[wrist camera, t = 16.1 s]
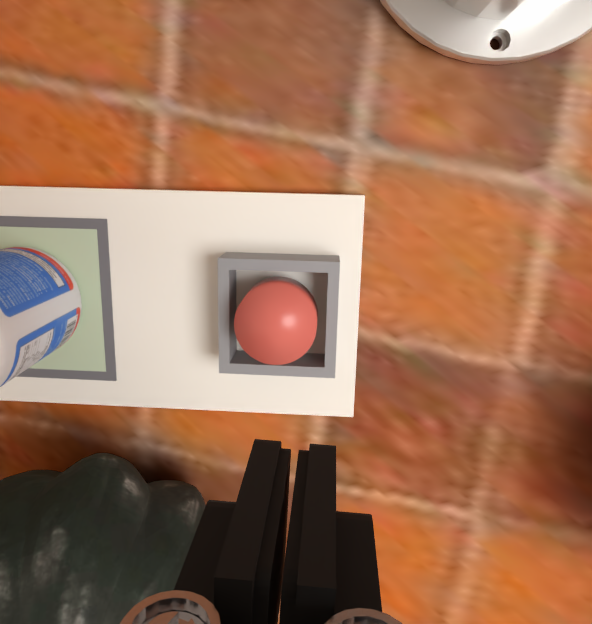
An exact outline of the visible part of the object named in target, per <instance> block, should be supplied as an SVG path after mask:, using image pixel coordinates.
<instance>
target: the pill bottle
mask: <svg viewBox="0 0 592 624" xmlns="http://www.w3.org/2000/svg"><path fill="white" fill-rule="evenodd" d="M81 310H82V303H81V295H80V291H79V288H78V285H77V283H76V281H75V279H74V277H73V276H72V274H71V272H70V271H69V270H68V269H67V268H66V267H65V266H64V265H63V264H62V263H61V262H60V261H59V260H58V259H56V258H55V257H53V256H52V255H50V254H48V253H46V252H44V251H41V250H38V249H35V248H30V247H11V248H5V249H1V250H0V387H1V386H3V385H4V384H6V383H7V382H9V381H10V380H12V379H13V378H15V377H16V376H18V375H19V374H20V373H22V372H23V371H25V370H26V369H28V368H29V367H31V366H32V365H34V364H35V363H37V362H38V361H40V360H41V359H43V358H44V357H46V356H47V355H49V354H51V353H52V352H54V351H55V350H56V349H58V348H59V347H61V346H62V345H63V344H64V343H65V342H66V341H67V340H68V339H69V338H70V337H71V336H72V334H73V333H74V331H75V330H76V328H77V326H78V323H79V320H80V316H81Z"/></svg>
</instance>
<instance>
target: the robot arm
mask: <svg viewBox="0 0 592 624" xmlns="http://www.w3.org/2000/svg"><path fill="white" fill-rule="evenodd" d="M380 2H381V4H382V5H383V6H384V7H385V9H386V10H387V11H388V12H389V14H390V15H391V16H392V17H393V19H394V20H395V21H396V22H397V24H398V25H399V26H400V27H401V28H403V29H404V30H405V31H406V32H408V33H409V34H410V35H411V36H412V37H414V38H415V39H416V40H417V41H418V42H420V43H421V44H423V45H425V46H427V47H429V48H431V49H433V50H435V51H436V52H438V53H440V54H442V55H444V56H447V57H451V58H454V59H458V60H462V61H465V62H469V63H477V64H493V65H502V64H509V63H516V62H524V61H529V60H532V59H534V58H537V57H540V56H543V55H546V54H549V53H552V52H555V51H557V50H559V49H560V48H562V47H564V46H566V45H568V44H570V43H572V42H574V41H576V40H578V39H579V38H581V37H582V36H584V35H585V34H587V33H588V32H590V31H591V30H592V0H380ZM491 39H496V40H498V41H499V45H500V46H499V49H498V50H493V49H492V48H491V47H490V41H491ZM290 458H291V449H282V448H281V441H271V440H259V439H255V441H254V444H253V447H252V450H251V454H250V457H249V461H248V464H247V467H246V471H245V474H244V478H243V481H242V484H241V488H240V491H239V495H238V498H237V501H236V502H226V501H215V500H209V501H208V502H207V504H206V506H205V509H204V511H203V514H202V517H201V519H200V522H199V525H198V527H197V530H196V532H195V535H194V538H193V540H192V543H191V546H190V548H189V551H188V554H187V556H186V559H185V561H184V564H183V567H182V569H181V572H180V575H179V577H178V580H177V582H176V585H175V588H174V590H173V591H166V592H160V593H157V594H155V595H152V596H149V597H147V598H145V599H144V600H142V601H141V602H139V603H138V604H136V605H135V606H133V608H132V609H131V610H130V611H129V612H128V613H127V614H126V615H125V617H124V618H123V619H122V621H121V622H120V624H277V622H278V614H279V607H280V623H279V624H402V623H401V622H399V621H398V620H396V619H395V618H393V617H391V616H390V615H388V614H385V613H382V607H381V597H380V587H379V578H378V568H377V558H376V549H375V539H374V529H373V520H372V515H371V514H362V513H350V512H339V511H336V446H331V445H319V444H310V448H309V451H306V450H299V454H298V461H297V469H296V477H295V485H294V492H293V500H292V508H291V516H290V524H289V531H288V539H287V547H286V555H285V546H286V528H287V511H288V493H289V476H290ZM280 599H281V605H280Z"/></svg>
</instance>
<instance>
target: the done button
mask: <svg viewBox="0 0 592 624" xmlns="http://www.w3.org/2000/svg"><path fill="white" fill-rule="evenodd" d="M317 320H318V310H317V305H316V302H315V299H314V297H313V295H312V294H311V292H310V291H309V290H308V289H307V288H306V287H305V286H304V285H303V284H301V283H300V282H298V281H296V280H294V279H291V278H288V277H281V276H277V277H269V278H266V279H264V280H261V281H260V282H258V283H256V284H255V285H254V286H253V287H252V288H251V289H250V290H249V291H248V293H247V294H246V295H245V297H244V298H243V300H242V301H241V303H240V304H239V306H238V308H237V310H236V313H235V318H234V330H235V335H236V338H237V340H238V342H239V344H240V346H241V347H242V349H243V350H244V351H245V352H246V353H247V354H248V355H249V356H251V357H252V358H254V359H255V360H257V361H259V362H262V363H265V364H270V365H283V364H288V363H291V362H293V361H295V360H297V359H299V358H300V357H302V356H303V355H304V354H305V353H306V352H307V351H308V350H309V348H310V347H311V345H312V344H313V341H314V339H315V336H316V330H317Z"/></svg>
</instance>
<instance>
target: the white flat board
mask: <svg viewBox="0 0 592 624" xmlns="http://www.w3.org/2000/svg"><path fill="white" fill-rule="evenodd" d="M364 203H365V195H351V194H312V193H273V192H234V191H195V190H156V189H117V188H78V187H39V186H1V185H0V250H1V249H5V248H11V247H30V248H35V249H38V250H41V251H44V252H46V253H48V254H50V255H52V256H53V257H55V258H56V259H58V260H59V261H60V262H61V263H62V264H63V265H64V266H65V267H66V268H67V269H68V270H69V271H70V272H71V274H72V276H73V277H74V279H75V281H76V283H77V285H78V288H79V291H80V295H81V303H82V310H81V316H80V320H79V323H78V326H77V328H76V330H75V331H74V333H73V334H72V336H71V337H70V338H69V339H68V340H67V341H66V342H65V343H64V344H63V345H62V346H61V347H59V348H58V349H56V350H55V351H54V352H52V353H51V354H49V355H47V356H46V357H44V358H43V359H41V360H40V361H38V362H37V363H35V364H34V365H32V366H31V367H29V368H28V369H26V370H25V371H23V372H22V373H20V374H19V375H18V376H16V377H15V378H13V379H12V380H10V381H9V382H7V383H6V384H4V385H3V386H1V387H0V400H5V401H26V402H47V403H68V404H90V405H111V406H132V407H153V408H174V409H195V410H216V411H237V412H258V413H279V414H300V415H321V416H342V417H353V413H354V394H355V375H356V356H357V337H358V317H359V298H360V279H361V260H362V241H363V222H364ZM277 276H281V277H288V278H291V279H294V280H296V281H298V282H300V283H301V284H303V285H304V286H305V287H306V288H307V289H308V290H309V291H310V292H311V294H312V295H313V297H314V299H315V302H316V305H317V310H318V320H317V330H316V336H315V339H314V341H313V344H312V345H311V347H310V348H309V350H308V351H307V352H306V353H305V354H304V355H303V356H302V357H300V358H299V359H297V360H295V361H293V362H291V363H288V364H283V365H270V364H265V363H262V362H259V361H257V360H255V359H254V358H252V357H251V356H249V355H248V354H247V353H246V352H245V351H244V350H243V349H242V347H241V346H240V344H239V342H238V340H237V338H236V335H235V330H234V318H235V313H236V310H237V308H238V306H239V304H240V303H241V301H242V300H243V298H244V297H245V295H246V294H247V293H248V291H249V290H250V289H251V288H252V287H253V286H254V285H255V284H256V283H258V282H260V281H261V280H264V279H266V278H269V277H277Z"/></svg>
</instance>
